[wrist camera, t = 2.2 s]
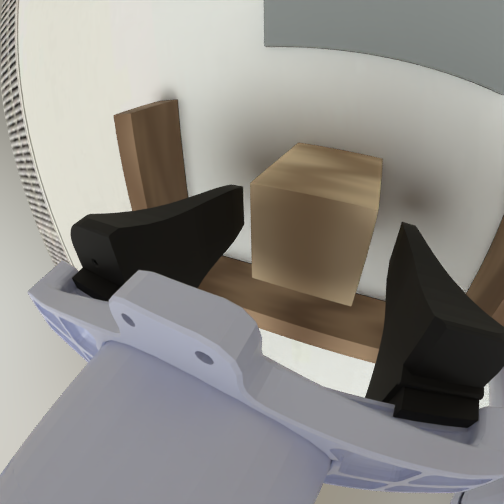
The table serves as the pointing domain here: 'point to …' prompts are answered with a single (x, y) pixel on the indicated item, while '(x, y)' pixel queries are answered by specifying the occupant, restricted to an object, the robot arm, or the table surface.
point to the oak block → (315, 220)
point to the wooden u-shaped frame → (240, 273)
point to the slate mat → (399, 32)
